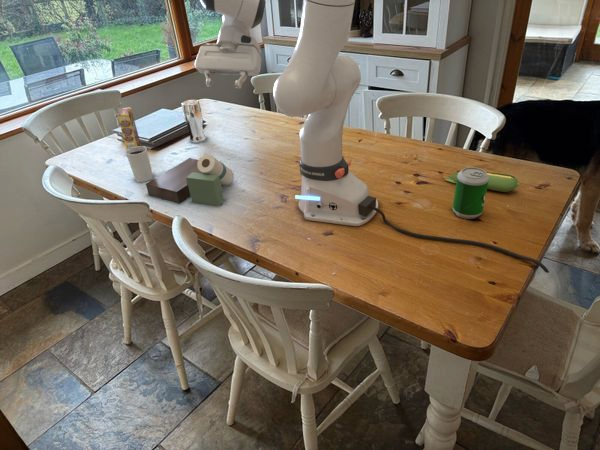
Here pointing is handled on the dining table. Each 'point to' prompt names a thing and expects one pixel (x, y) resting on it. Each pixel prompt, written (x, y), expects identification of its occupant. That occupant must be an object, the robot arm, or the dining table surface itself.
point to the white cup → (140, 163)
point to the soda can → (470, 192)
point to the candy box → (128, 128)
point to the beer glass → (194, 120)
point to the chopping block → (173, 182)
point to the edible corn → (495, 181)
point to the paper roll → (215, 168)
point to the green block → (205, 188)
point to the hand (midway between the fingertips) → (222, 86)
